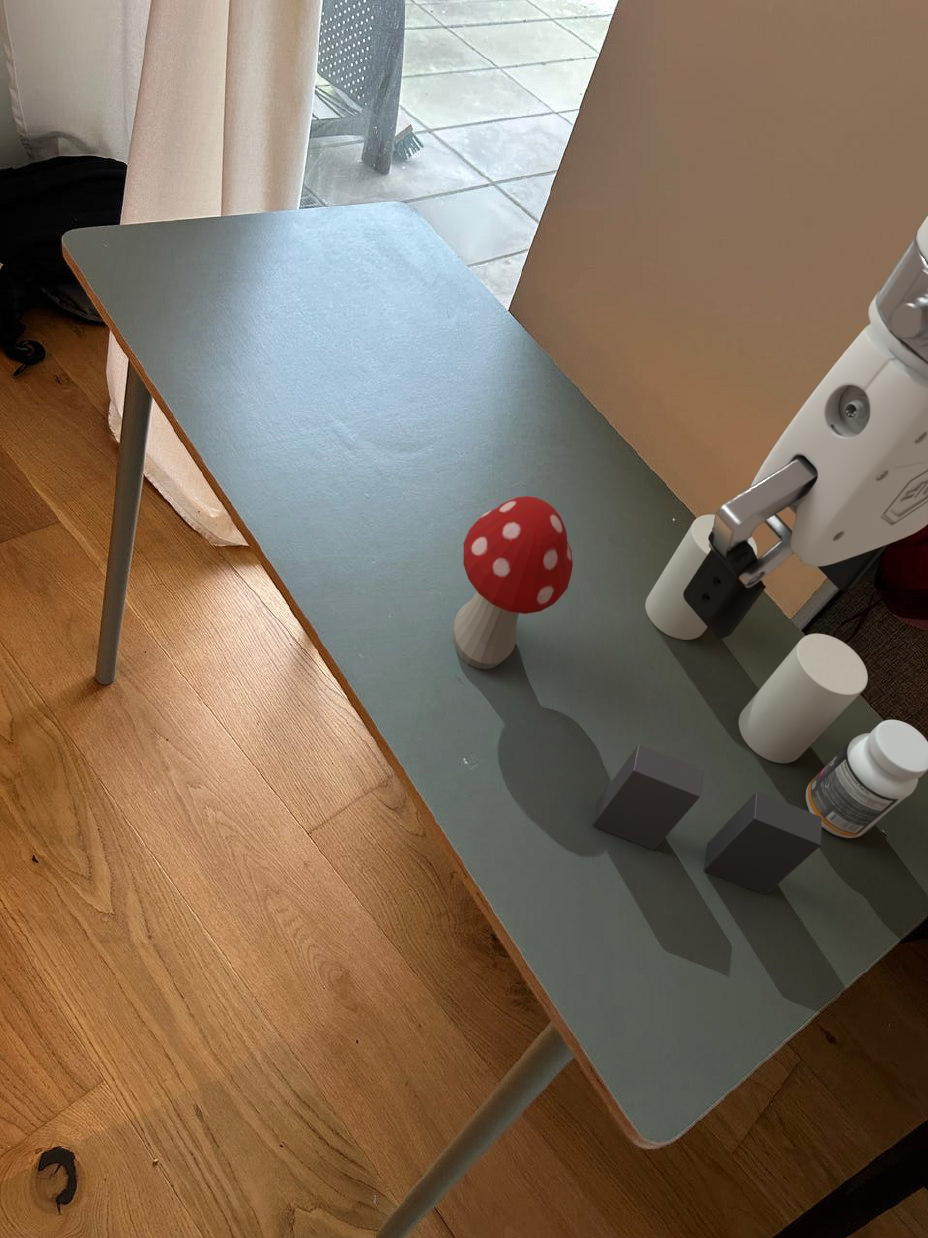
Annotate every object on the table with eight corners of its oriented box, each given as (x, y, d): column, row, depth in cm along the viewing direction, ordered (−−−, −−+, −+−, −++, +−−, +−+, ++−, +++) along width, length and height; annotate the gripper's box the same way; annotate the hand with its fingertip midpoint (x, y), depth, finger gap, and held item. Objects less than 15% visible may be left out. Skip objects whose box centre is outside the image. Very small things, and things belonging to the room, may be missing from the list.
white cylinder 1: (708, 604, 94) (759, 530, 87) (702, 649, 90) (755, 575, 83) (649, 580, 94) (695, 504, 87) (640, 624, 90) (688, 548, 83)
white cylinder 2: (804, 720, 88) (867, 650, 81) (801, 774, 84) (868, 706, 77) (740, 694, 88) (798, 622, 81) (735, 747, 84) (795, 676, 76)
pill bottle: (834, 771, 85) (903, 704, 78) (880, 828, 82) (955, 764, 75) (789, 791, 82) (855, 724, 75) (834, 851, 80) (907, 787, 72)
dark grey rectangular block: (658, 824, 77) (704, 769, 71) (654, 851, 75) (700, 797, 69) (597, 800, 77) (638, 743, 71) (592, 826, 75) (633, 770, 69)
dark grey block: (767, 868, 77) (822, 817, 71) (765, 895, 75) (821, 845, 69) (706, 843, 77) (756, 790, 71) (703, 870, 75) (754, 818, 69)
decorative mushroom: (524, 701, 81) (590, 578, 70) (421, 672, 80) (472, 542, 69) (535, 611, 88) (597, 486, 77) (440, 584, 87) (489, 453, 76)
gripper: (914, 409, 34) (698, 696, 47) (1148, 349, 43) (914, 604, 56) (771, 281, 38) (605, 581, 50) (1016, 250, 47) (823, 511, 59)
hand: (768, 593), depth 53 cm, fingers open, 9 cm apart
